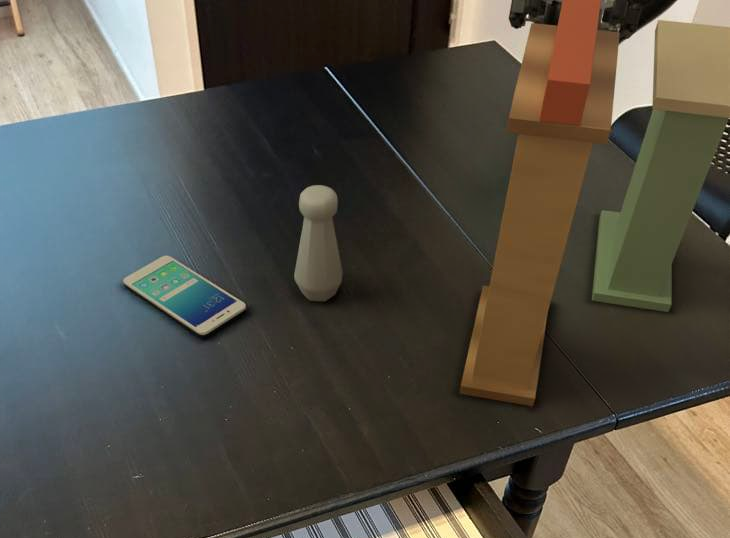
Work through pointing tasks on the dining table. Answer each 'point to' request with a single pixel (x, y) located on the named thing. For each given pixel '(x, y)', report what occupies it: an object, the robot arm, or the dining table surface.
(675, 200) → the green pedestal column
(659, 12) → the robot arm
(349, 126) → the dining table surface
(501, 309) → the tall wooden pedestal
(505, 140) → the dining table surface
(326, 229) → the salt shaker
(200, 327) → the smartphone
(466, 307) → the dining table surface
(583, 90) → the bar
